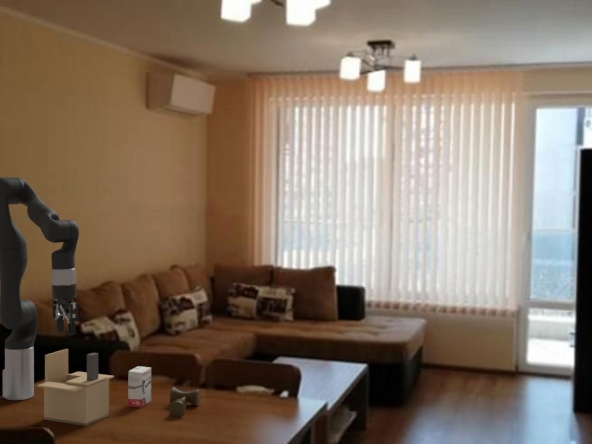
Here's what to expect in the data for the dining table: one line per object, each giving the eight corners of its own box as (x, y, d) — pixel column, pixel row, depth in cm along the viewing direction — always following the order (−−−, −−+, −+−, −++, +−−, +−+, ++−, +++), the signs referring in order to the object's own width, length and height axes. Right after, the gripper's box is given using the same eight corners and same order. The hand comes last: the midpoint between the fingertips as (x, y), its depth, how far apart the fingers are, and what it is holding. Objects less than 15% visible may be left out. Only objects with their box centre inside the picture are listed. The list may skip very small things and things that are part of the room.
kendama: (160, 418, 230) (175, 399, 250) (190, 420, 229) (202, 400, 249) (161, 399, 229) (175, 382, 249) (191, 401, 229) (203, 383, 249)
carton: (34, 423, 221) (34, 357, 221) (75, 406, 239) (75, 346, 238) (77, 430, 215) (77, 362, 215) (116, 412, 233) (116, 350, 232)
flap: (65, 383, 222) (66, 355, 222) (87, 376, 231) (87, 349, 231) (87, 386, 219) (87, 357, 219) (107, 378, 228) (108, 351, 228)
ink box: (141, 408, 239) (141, 372, 238) (127, 407, 240) (127, 371, 239) (151, 401, 247) (151, 366, 247) (138, 400, 248) (138, 365, 248)
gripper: (43, 282, 235) (45, 332, 235) (62, 285, 224) (64, 338, 224) (65, 280, 240) (67, 329, 240) (85, 283, 229) (87, 334, 229)
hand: (66, 333), depth 232 cm, fingers open, 8 cm apart
